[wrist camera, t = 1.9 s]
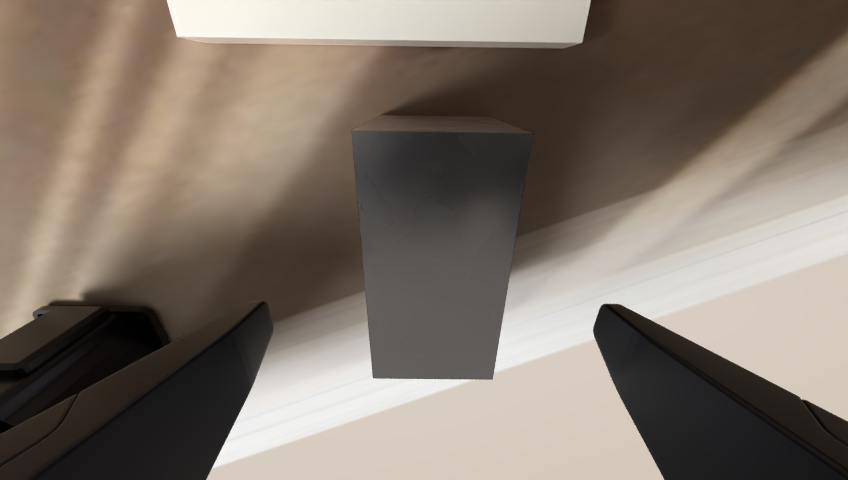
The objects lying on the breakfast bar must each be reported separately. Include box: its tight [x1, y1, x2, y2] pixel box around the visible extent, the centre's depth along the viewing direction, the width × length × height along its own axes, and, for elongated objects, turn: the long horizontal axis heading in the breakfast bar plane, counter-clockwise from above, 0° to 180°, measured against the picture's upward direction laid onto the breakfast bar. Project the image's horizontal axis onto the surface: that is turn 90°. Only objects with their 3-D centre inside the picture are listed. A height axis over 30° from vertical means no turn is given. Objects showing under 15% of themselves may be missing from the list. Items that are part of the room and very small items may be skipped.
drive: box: [351, 115, 533, 379], centre depth 12 cm, size 9×5×6 cm, turn 179°
